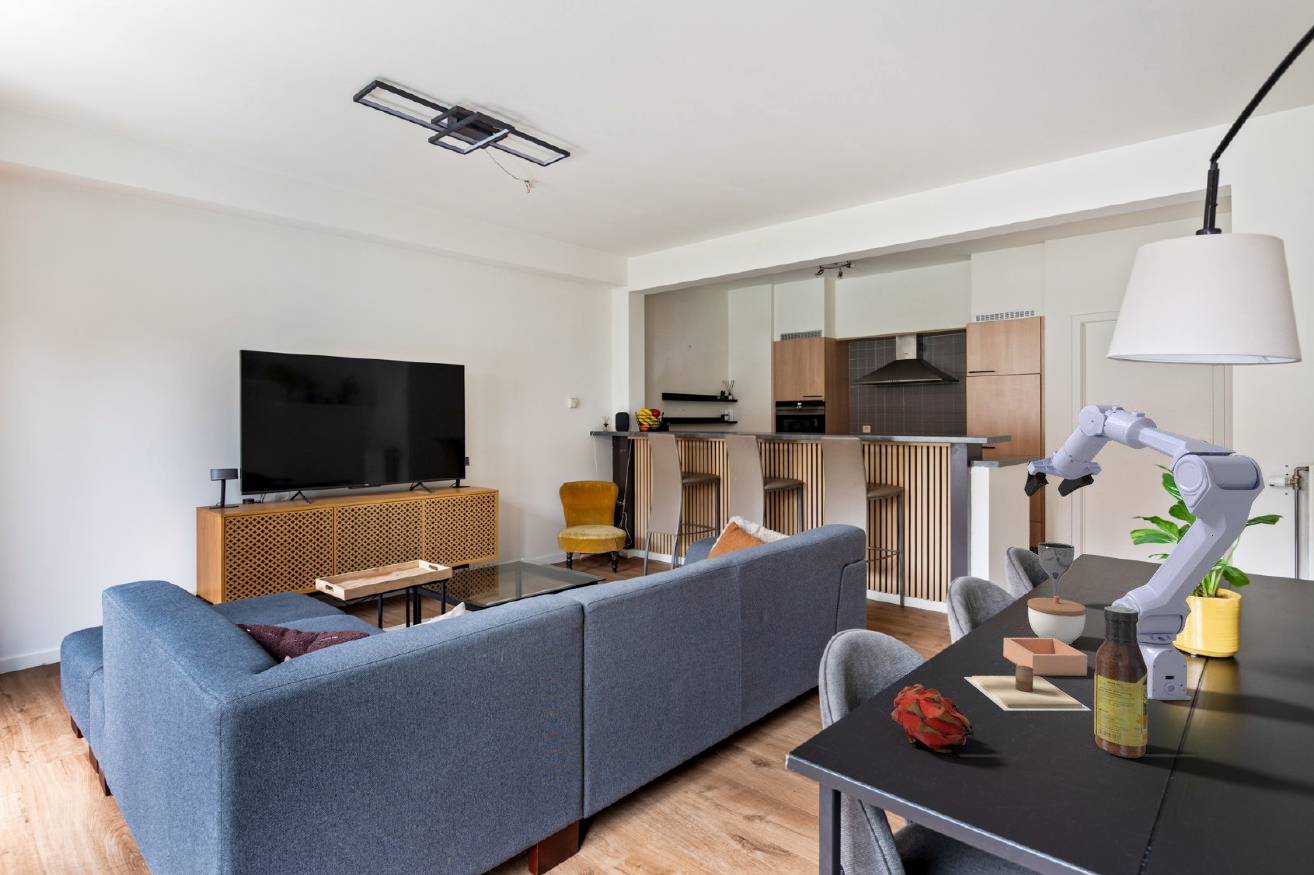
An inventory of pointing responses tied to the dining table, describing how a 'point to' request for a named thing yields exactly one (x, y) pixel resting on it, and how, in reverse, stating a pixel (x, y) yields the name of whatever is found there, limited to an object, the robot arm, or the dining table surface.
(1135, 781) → the dining table surface
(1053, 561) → the wine glass
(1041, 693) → the birch lid
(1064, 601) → the lidded jar
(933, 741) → the dragon fruit
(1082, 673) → the terracotta tray
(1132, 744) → the sauce bottle
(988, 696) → the grey mat
